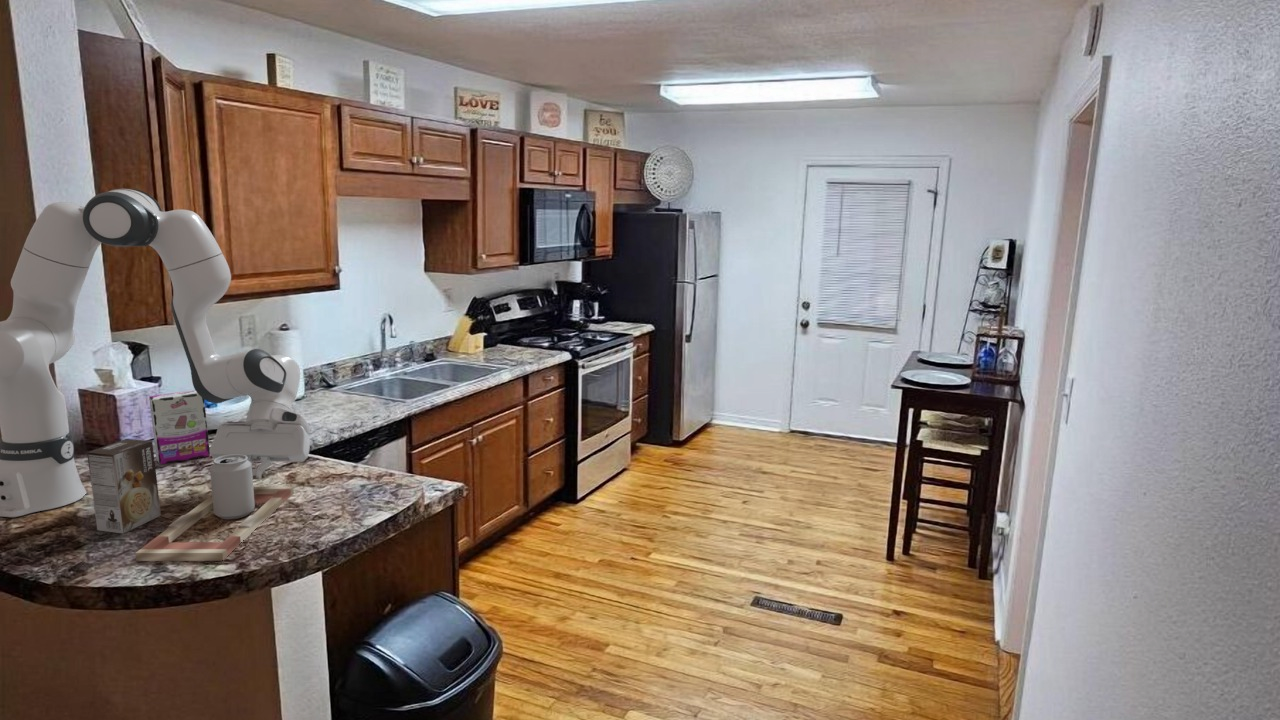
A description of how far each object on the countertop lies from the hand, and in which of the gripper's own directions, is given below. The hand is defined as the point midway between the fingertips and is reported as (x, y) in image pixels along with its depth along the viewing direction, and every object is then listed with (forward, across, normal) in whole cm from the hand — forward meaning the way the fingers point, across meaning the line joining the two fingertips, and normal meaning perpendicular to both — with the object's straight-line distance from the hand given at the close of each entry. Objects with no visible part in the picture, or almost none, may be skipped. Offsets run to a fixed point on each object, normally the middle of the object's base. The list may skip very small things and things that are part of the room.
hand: (252, 478), depth 165 cm
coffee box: (+13, -18, -6) cm, 23 cm away
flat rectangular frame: (+13, 0, -7) cm, 15 cm away
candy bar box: (-15, -28, +22) cm, 39 cm away
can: (+10, 0, -3) cm, 10 cm away
